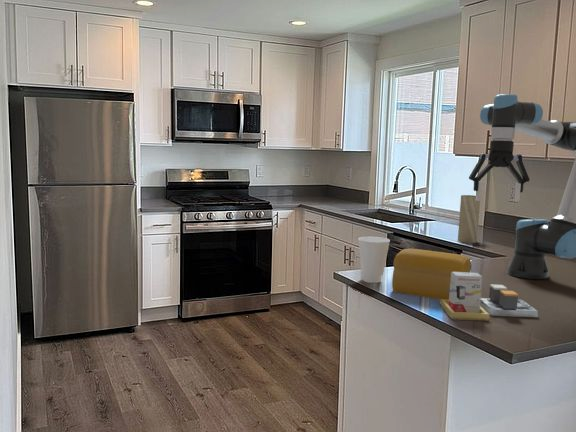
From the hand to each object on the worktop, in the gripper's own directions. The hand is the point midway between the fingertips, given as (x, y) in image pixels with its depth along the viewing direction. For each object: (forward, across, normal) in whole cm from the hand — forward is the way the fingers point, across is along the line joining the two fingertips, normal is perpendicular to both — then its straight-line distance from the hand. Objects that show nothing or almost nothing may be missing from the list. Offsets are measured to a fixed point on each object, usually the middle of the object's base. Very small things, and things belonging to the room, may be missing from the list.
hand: (497, 201), depth 188 cm
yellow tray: (+33, +17, +26) cm, 45 cm away
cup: (+33, +41, -10) cm, 54 cm away
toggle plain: (+30, +4, +19) cm, 36 cm away
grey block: (+30, +3, +25) cm, 40 cm away
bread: (+33, +22, +4) cm, 40 cm away
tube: (+33, -23, -103) cm, 111 cm away
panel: (+33, +2, +22) cm, 39 cm away
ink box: (+32, +17, +26) cm, 45 cm away
